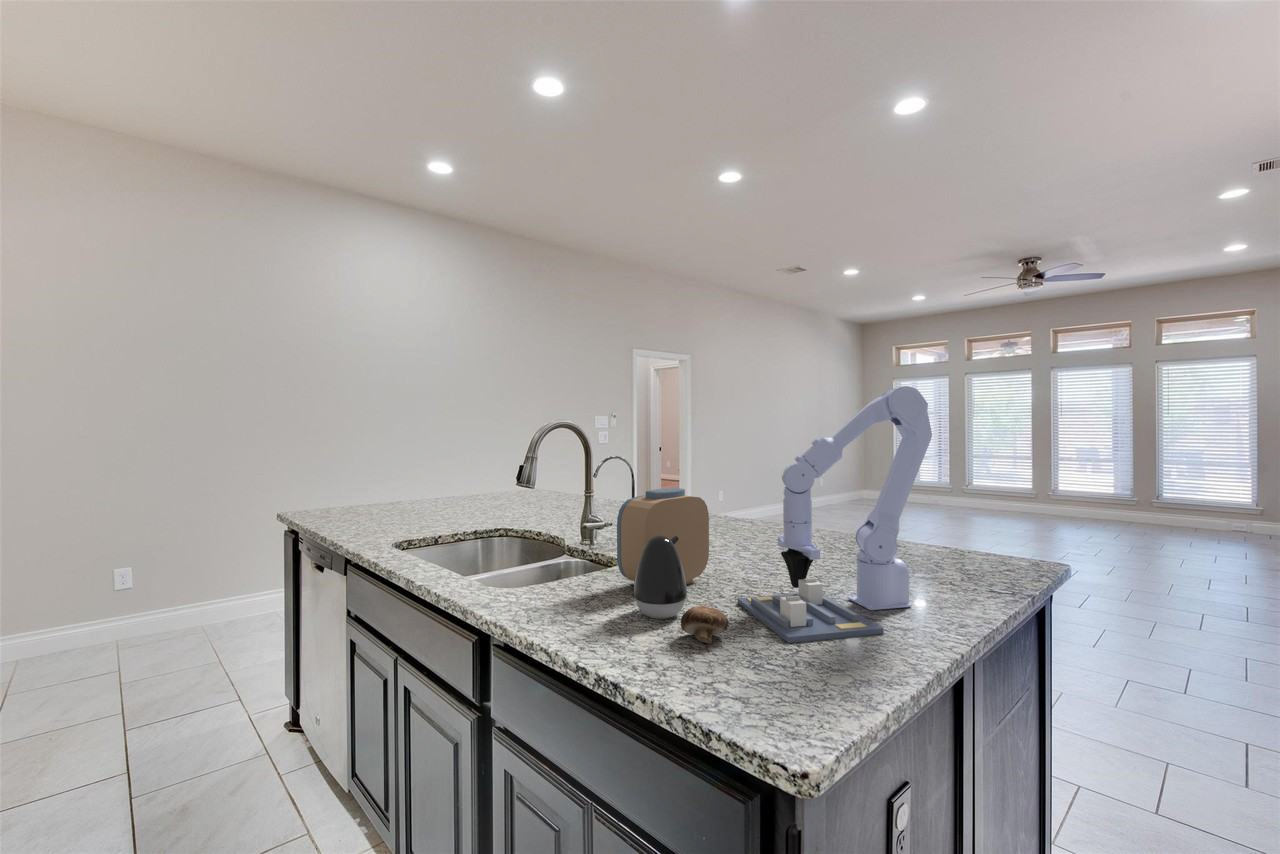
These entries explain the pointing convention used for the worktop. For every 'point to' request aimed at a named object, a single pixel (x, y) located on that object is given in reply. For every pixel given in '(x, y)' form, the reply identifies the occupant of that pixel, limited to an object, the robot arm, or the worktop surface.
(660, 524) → the alarm clock
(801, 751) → the worktop surface
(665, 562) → the pump dispenser
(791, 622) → the tab
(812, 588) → the tab
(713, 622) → the mushroom
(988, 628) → the worktop surface
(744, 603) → the switch board
